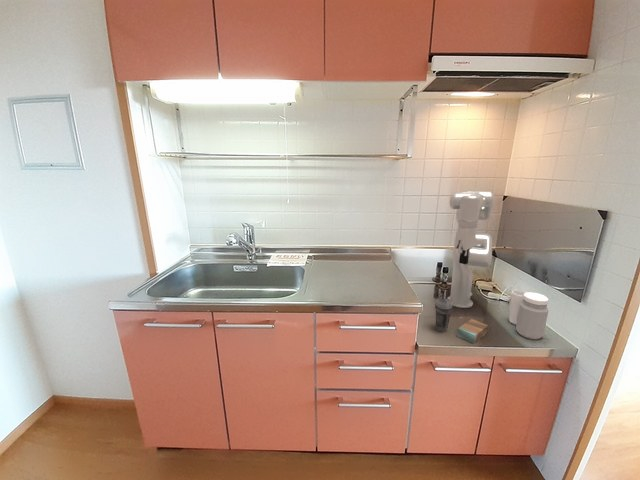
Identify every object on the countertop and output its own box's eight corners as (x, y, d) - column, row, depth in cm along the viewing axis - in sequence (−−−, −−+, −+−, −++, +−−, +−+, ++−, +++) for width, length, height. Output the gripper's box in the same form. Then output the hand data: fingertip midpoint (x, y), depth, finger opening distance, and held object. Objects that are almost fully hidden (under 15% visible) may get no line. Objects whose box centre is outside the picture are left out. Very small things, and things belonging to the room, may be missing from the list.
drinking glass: (514, 317, 133) (518, 288, 129) (528, 324, 126) (533, 294, 123) (503, 320, 131) (508, 291, 127) (517, 327, 124) (522, 297, 121)
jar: (549, 338, 116) (557, 300, 111) (529, 342, 114) (537, 303, 110) (527, 326, 125) (534, 290, 121) (509, 329, 123) (515, 292, 119)
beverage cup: (449, 326, 127) (453, 286, 122) (450, 334, 121) (455, 293, 115) (432, 323, 130) (435, 284, 125) (433, 331, 123) (436, 291, 118)
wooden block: (471, 318, 126) (458, 328, 119) (488, 325, 120) (475, 335, 113) (470, 326, 127) (457, 336, 120) (487, 333, 121) (474, 343, 114)
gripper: (467, 220, 127) (463, 257, 131) (450, 225, 118) (446, 265, 123) (484, 222, 121) (479, 261, 126) (468, 227, 112) (463, 269, 117)
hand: (463, 263), depth 124 cm, fingers closed
